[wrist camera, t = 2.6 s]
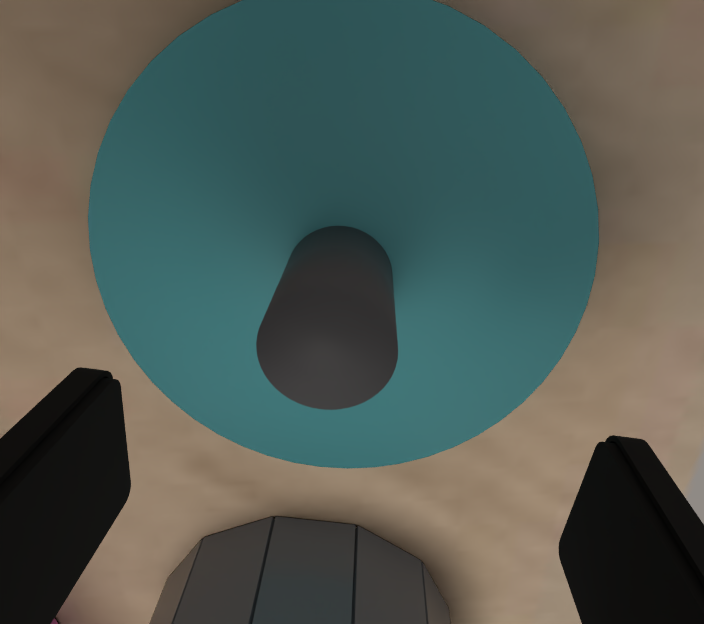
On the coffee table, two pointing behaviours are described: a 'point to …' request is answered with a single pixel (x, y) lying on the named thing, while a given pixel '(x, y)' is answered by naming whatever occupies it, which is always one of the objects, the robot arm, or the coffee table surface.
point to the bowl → (299, 578)
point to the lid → (343, 228)
